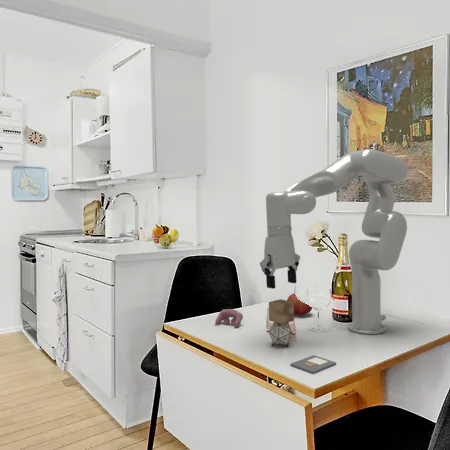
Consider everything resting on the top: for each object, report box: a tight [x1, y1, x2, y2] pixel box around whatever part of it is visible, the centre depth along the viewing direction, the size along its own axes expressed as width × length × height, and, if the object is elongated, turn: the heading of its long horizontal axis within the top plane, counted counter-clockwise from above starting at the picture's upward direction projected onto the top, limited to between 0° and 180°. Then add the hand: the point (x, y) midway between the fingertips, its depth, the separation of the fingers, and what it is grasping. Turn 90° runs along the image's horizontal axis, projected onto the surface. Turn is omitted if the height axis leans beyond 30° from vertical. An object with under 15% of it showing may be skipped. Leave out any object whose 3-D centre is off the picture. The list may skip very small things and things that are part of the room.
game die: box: [266, 322, 296, 348], centre depth 138 cm, size 9×8×10 cm
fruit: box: [286, 292, 313, 316], centre depth 174 cm, size 11×10×10 cm
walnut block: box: [268, 298, 295, 324], centre depth 138 cm, size 6×6×6 cm
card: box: [289, 354, 337, 375], centre depth 121 cm, size 10×8×1 cm
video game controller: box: [214, 308, 244, 329], centre depth 163 cm, size 10×5×7 cm, turn 58°
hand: (281, 285), depth 138 cm, fingers open, 9 cm apart
